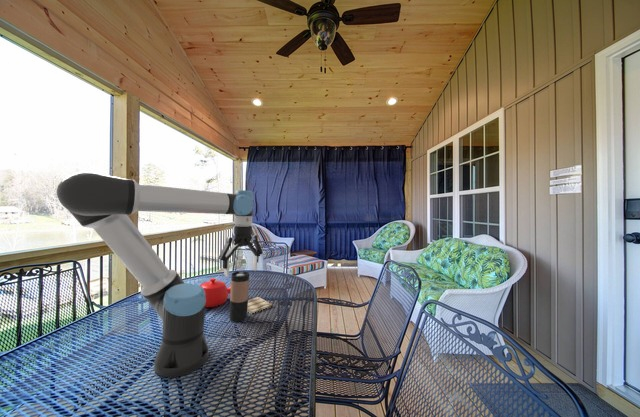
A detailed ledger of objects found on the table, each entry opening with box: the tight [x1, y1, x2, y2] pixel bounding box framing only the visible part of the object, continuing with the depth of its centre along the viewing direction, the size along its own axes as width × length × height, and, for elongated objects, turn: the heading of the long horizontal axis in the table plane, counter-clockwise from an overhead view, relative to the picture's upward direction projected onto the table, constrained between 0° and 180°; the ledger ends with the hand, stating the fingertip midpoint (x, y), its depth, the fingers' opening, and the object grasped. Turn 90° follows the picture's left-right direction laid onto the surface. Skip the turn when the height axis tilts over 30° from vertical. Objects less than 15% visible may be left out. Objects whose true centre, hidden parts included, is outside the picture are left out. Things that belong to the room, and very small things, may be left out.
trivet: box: [247, 296, 273, 315], centre depth 118 cm, size 12×12×2 cm
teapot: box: [199, 277, 231, 309], centre depth 119 cm, size 25×16×12 cm, turn 133°
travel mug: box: [229, 271, 250, 323], centre depth 105 cm, size 8×8×20 cm
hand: (241, 272), depth 105 cm, fingers open, 13 cm apart
